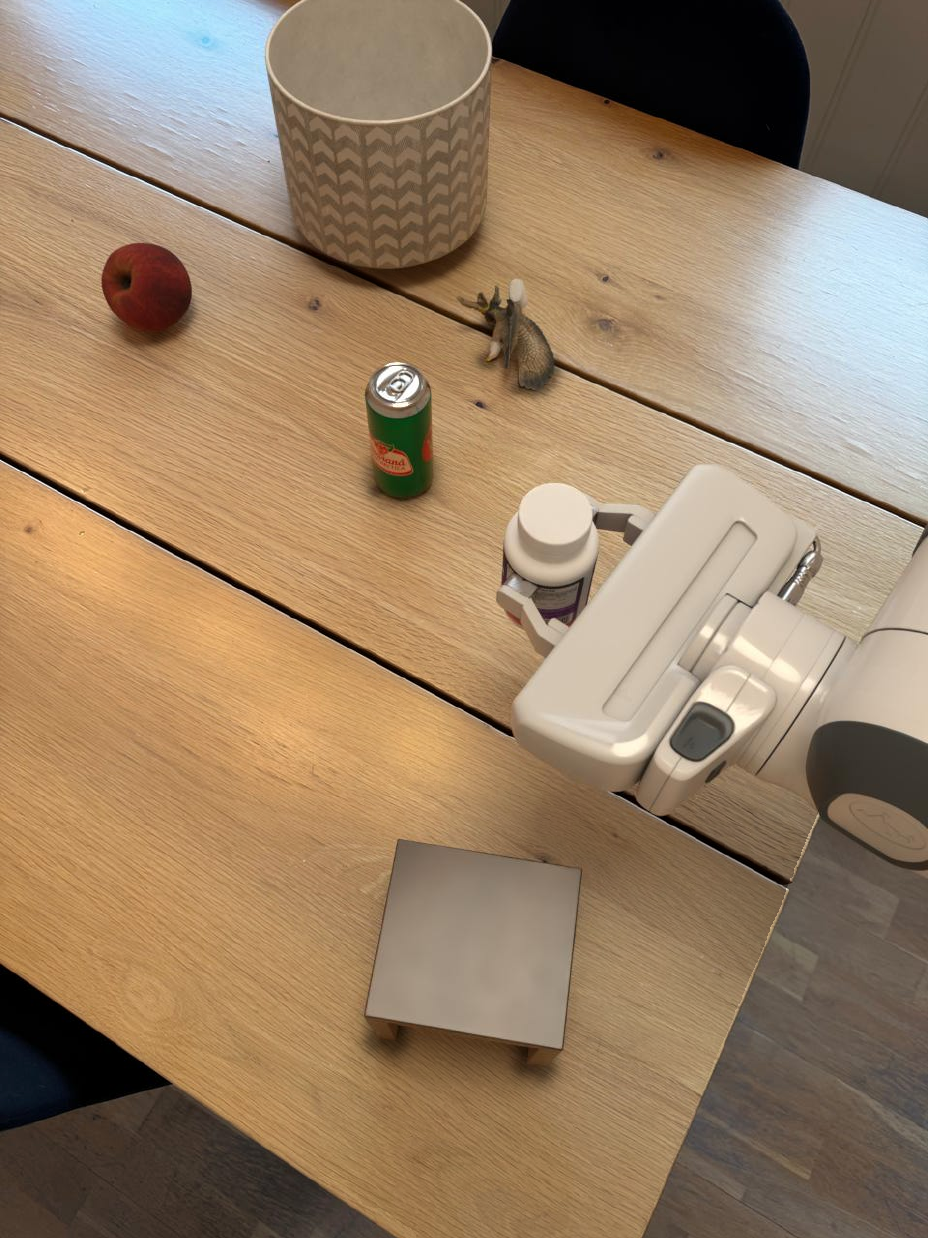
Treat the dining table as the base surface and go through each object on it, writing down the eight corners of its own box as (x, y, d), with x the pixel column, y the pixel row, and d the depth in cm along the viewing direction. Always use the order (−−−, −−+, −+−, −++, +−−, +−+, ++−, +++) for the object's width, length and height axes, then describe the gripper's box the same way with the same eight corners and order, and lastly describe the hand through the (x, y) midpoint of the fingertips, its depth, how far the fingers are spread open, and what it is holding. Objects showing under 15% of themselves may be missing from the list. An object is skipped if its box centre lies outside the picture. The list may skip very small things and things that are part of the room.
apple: (100, 314, 95) (72, 247, 88) (171, 275, 97) (149, 207, 90) (144, 361, 92) (118, 296, 85) (215, 319, 95) (196, 253, 88)
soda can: (362, 481, 87) (349, 388, 76) (399, 443, 88) (392, 347, 78) (408, 511, 85) (402, 421, 75) (445, 472, 87) (444, 379, 76)
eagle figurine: (438, 337, 93) (492, 389, 88) (469, 263, 89) (527, 314, 84) (500, 346, 98) (553, 396, 93) (531, 276, 94) (589, 325, 89)
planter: (342, 138, 107) (323, -41, 90) (513, 185, 104) (524, 8, 87) (261, 260, 98) (224, 87, 82) (443, 315, 95) (441, 146, 79)
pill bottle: (531, 547, 65) (542, 454, 56) (603, 590, 63) (625, 502, 55) (482, 607, 63) (485, 522, 54) (555, 654, 61) (570, 573, 53)
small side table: (562, 910, 70) (582, 868, 59) (544, 1066, 66) (563, 1051, 55) (406, 885, 71) (397, 838, 60) (377, 1037, 66) (363, 1016, 56)
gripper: (856, 512, 56) (640, 394, 59) (664, 806, 48) (430, 650, 52) (819, 570, 61) (624, 459, 65) (642, 841, 54) (432, 698, 57)
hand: (536, 546), depth 58 cm, fingers closed on pill bottle, 5 cm apart
